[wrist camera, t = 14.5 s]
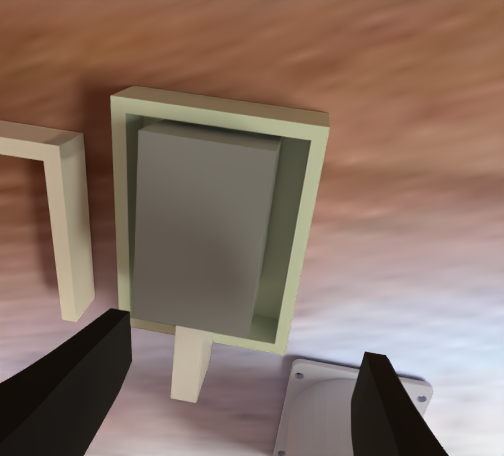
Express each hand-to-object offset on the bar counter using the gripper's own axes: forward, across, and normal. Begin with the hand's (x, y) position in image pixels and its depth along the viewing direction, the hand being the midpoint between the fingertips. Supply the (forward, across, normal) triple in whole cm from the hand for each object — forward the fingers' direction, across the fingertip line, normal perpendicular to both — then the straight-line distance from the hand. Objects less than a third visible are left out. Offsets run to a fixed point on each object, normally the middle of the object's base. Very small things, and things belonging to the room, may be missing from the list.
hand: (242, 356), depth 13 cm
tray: (+9, +3, 0) cm, 10 cm away
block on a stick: (+8, +3, +1) cm, 9 cm away
